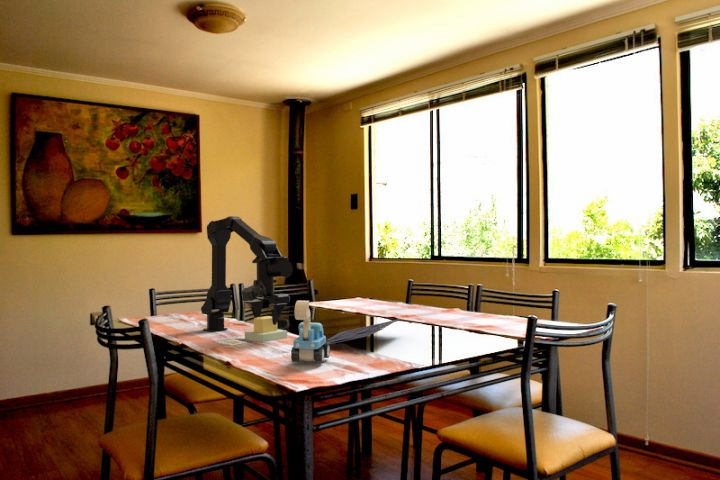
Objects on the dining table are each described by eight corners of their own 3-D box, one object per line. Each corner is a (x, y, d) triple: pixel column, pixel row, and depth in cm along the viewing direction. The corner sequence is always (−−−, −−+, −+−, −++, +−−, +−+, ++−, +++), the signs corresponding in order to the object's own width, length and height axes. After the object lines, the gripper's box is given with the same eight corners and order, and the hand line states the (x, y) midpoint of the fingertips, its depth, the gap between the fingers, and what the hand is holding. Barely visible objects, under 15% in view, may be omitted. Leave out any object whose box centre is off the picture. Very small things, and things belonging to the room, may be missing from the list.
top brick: (253, 331, 182) (253, 318, 182) (268, 329, 186) (267, 315, 186) (263, 333, 179) (263, 319, 179) (277, 330, 183) (277, 317, 183)
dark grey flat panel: (303, 359, 167) (301, 347, 167) (341, 339, 195) (339, 329, 195) (375, 343, 159) (372, 331, 159) (404, 326, 187) (402, 315, 187)
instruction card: (217, 342, 175) (217, 341, 175) (233, 340, 180) (233, 339, 180) (231, 345, 170) (231, 344, 170) (247, 342, 174) (247, 341, 174)
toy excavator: (282, 369, 138) (281, 301, 138) (301, 355, 154) (300, 295, 154) (315, 370, 136) (314, 301, 136) (330, 356, 152) (330, 295, 152)
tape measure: (287, 328, 195) (287, 317, 196) (268, 330, 195) (268, 319, 196) (290, 329, 201) (289, 319, 202) (272, 330, 202) (271, 320, 202)
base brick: (244, 340, 182) (244, 331, 182) (268, 336, 189) (268, 327, 189) (263, 344, 175) (263, 334, 175) (287, 339, 183) (287, 330, 183)
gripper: (228, 277, 183) (229, 323, 183) (263, 279, 170) (264, 329, 170) (255, 275, 191) (256, 319, 191) (290, 277, 178) (291, 324, 178)
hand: (265, 323), depth 182 cm, fingers open, 9 cm apart
